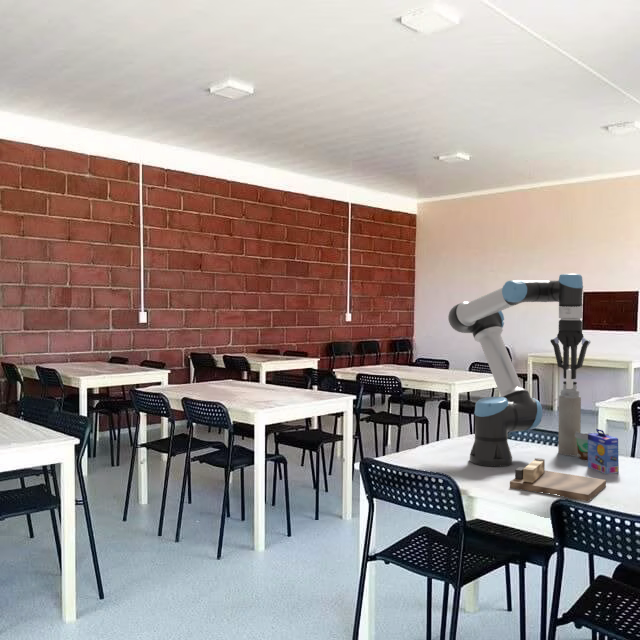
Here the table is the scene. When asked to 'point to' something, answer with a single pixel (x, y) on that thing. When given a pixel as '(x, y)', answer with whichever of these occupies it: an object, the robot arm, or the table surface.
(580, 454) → the food container
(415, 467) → the table surface
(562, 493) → the board
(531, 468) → the stool leg
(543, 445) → the table surface
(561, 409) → the thermos bottle
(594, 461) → the ink cartridge box
